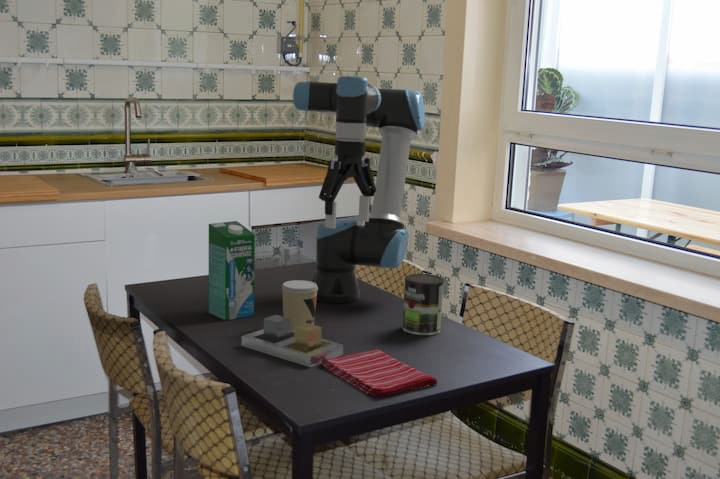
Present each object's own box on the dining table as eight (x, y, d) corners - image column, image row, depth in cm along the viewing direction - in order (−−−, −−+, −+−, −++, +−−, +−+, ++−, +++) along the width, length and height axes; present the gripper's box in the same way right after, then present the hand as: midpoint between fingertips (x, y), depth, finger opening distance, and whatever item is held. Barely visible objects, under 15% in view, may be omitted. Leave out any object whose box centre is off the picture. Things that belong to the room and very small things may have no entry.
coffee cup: (311, 335, 215) (312, 290, 212) (276, 332, 216) (277, 287, 214) (320, 325, 224) (321, 281, 221) (286, 321, 225) (287, 278, 223)
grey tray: (275, 334, 214) (275, 325, 214) (342, 354, 201) (343, 344, 201) (241, 345, 205) (241, 336, 204) (310, 367, 192) (310, 357, 191)
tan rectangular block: (307, 350, 203) (307, 323, 202) (320, 355, 200) (321, 327, 199) (294, 355, 200) (294, 327, 198) (308, 359, 197) (308, 331, 196)
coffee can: (424, 338, 216) (427, 285, 213) (394, 329, 223) (396, 277, 220) (448, 330, 223) (452, 278, 221) (418, 321, 230) (421, 271, 227)
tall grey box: (275, 341, 209) (276, 314, 208) (289, 345, 206) (290, 318, 205) (263, 345, 206) (263, 318, 204) (276, 350, 203) (277, 322, 202)
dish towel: (376, 402, 175) (376, 390, 174) (317, 366, 194) (318, 355, 194) (440, 387, 184) (440, 376, 184) (378, 355, 204) (379, 344, 203)
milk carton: (226, 320, 224) (226, 228, 219) (208, 312, 231) (208, 223, 226) (254, 315, 230) (255, 225, 225) (236, 307, 237) (236, 220, 232)
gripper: (368, 136, 219) (365, 216, 224) (305, 140, 200) (303, 228, 204) (391, 138, 215) (388, 220, 219) (330, 143, 195) (327, 232, 200)
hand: (347, 224), depth 212 cm, fingers open, 13 cm apart
